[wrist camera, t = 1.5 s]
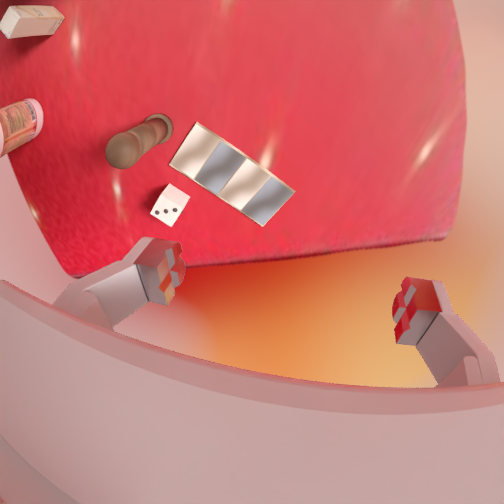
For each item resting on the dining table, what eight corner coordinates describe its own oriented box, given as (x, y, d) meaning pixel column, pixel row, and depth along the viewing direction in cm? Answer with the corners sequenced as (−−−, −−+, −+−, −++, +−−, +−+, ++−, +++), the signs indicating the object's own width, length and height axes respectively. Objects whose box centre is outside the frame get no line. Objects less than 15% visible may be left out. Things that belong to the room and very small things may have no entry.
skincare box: (66, 17, 25) (21, 17, 15) (53, 35, 27) (8, 40, 17) (52, 5, 22) (9, 4, 13) (40, 23, 24) (-3, 26, 15)
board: (169, 164, 44) (168, 165, 44) (197, 121, 40) (196, 122, 39) (262, 225, 51) (262, 226, 50) (295, 190, 46) (295, 192, 46)
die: (157, 202, 49) (148, 215, 45) (169, 183, 46) (160, 194, 43) (179, 216, 50) (172, 229, 47) (191, 197, 48) (184, 210, 44)
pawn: (139, 133, 41) (92, 163, 29) (153, 108, 38) (106, 128, 26) (163, 148, 42) (123, 183, 30) (178, 123, 40) (140, 149, 28)
